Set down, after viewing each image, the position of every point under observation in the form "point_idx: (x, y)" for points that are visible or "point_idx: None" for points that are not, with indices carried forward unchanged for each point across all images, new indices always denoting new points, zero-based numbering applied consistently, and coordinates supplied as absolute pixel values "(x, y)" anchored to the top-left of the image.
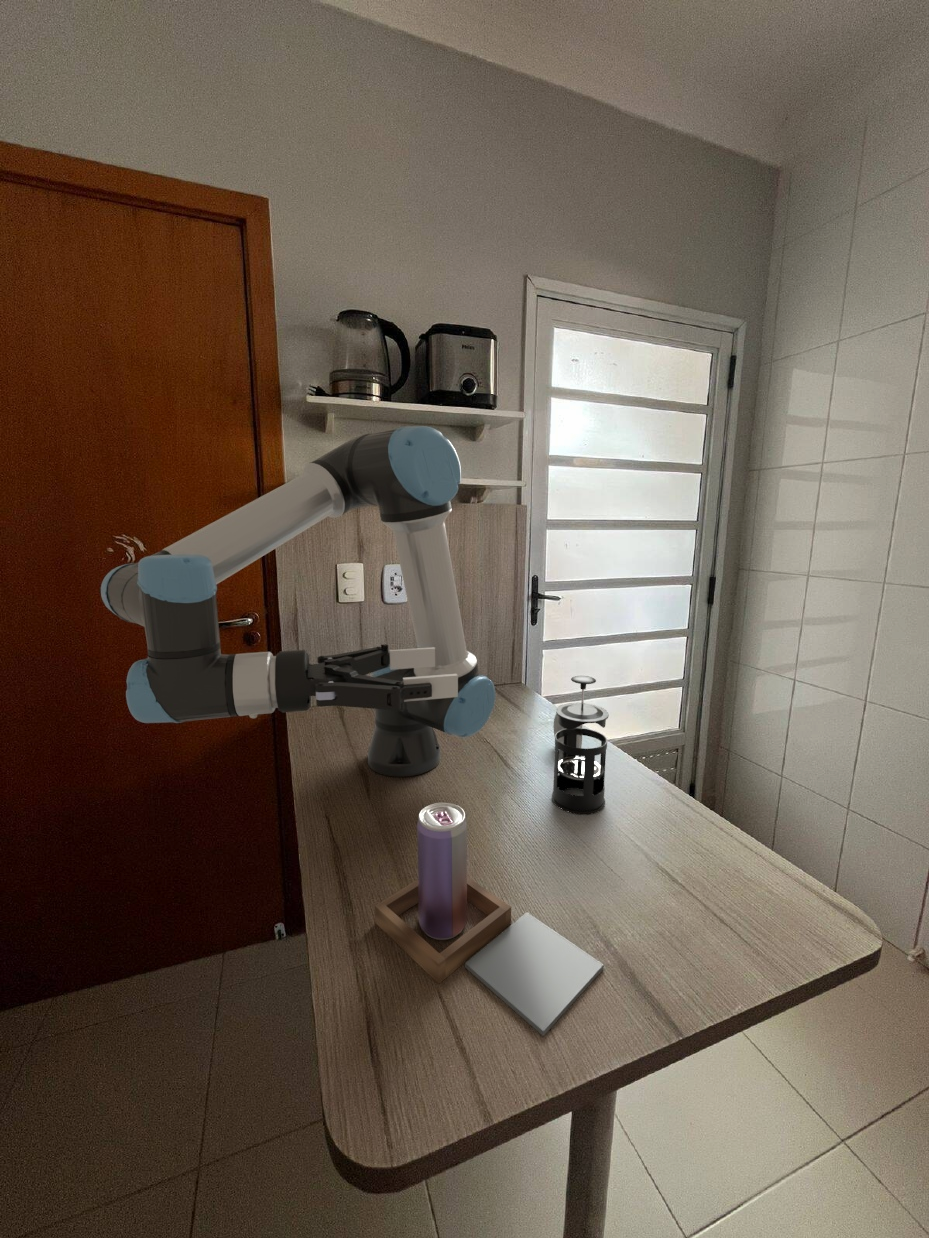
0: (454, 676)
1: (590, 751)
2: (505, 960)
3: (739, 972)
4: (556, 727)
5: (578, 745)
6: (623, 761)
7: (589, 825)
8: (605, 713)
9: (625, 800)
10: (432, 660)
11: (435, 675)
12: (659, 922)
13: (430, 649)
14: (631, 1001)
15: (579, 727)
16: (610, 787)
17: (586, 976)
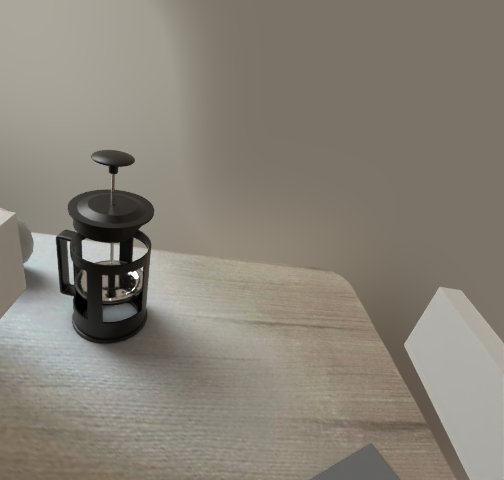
0: (467, 301)
1: (148, 255)
2: None
3: (367, 351)
4: None
5: (32, 250)
6: None
7: (164, 334)
8: (137, 197)
9: None
10: (15, 271)
11: (489, 350)
12: (317, 366)
13: (2, 227)
14: (401, 442)
15: (25, 225)
16: None
17: (386, 468)
